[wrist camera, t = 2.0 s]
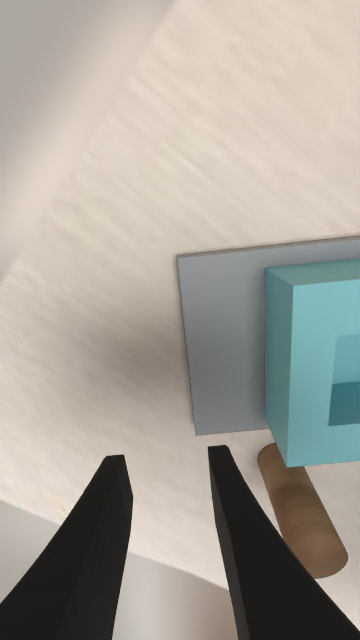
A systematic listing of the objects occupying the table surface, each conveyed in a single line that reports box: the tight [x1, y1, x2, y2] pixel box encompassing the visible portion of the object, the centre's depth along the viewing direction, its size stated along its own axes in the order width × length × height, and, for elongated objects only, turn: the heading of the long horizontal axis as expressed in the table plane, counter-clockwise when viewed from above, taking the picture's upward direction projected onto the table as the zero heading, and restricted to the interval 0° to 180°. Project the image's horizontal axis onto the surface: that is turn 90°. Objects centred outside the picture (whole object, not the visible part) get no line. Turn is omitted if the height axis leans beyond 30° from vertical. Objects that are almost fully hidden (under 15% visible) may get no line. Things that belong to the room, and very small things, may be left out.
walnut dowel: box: [258, 443, 348, 579], centre depth 19 cm, size 3×3×7 cm
